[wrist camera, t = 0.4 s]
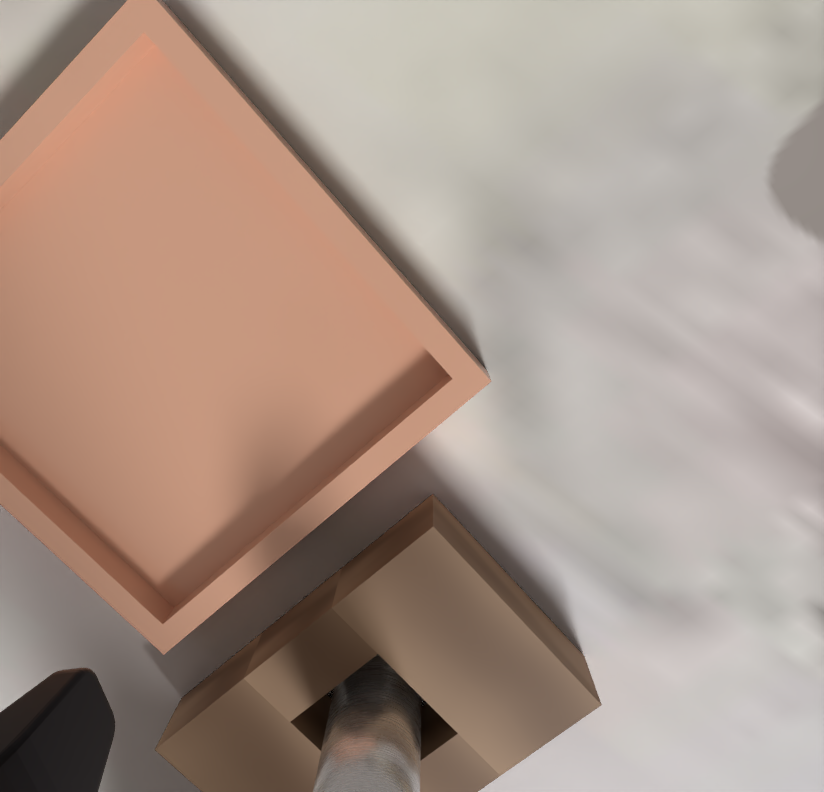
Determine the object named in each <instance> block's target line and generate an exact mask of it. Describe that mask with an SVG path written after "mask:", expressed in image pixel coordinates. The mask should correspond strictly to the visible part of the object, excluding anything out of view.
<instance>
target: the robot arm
mask: <svg viewBox="0 0 824 792" xmlns="http://www.w3.org/2000/svg"><path fill="white" fill-rule="evenodd" d="M114 732H115V720H114V715H113V712H112V710H111V707H110V705H109V703H108V701H107V698H106V696H105V694H104V692H103V689H102V687H101V685H100V683H99V681H98V678H97V676H96V675H95V673H94V672H93V671H92V670H90V669H88V668H77V669H68V670H61V671H57V672H55V673H53V674H52V675H50V676H49V677H48V678H46V679H45V680H44V681H42V682H41V683H40V684H38V685H37V686H35V687H34V688H33V689H31V690H30V691H29V692H27V693H26V694H25V695H23V696H22V697H21V698H19V699H18V700H16V701H15V702H14V703H12V704H11V705H10V706H8V707H7V708H6V709H4V710H3V711H2V712H0V792H98V789H99V786H100V782H101V779H102V775H103V772H104V768H105V765H106V762H107V758H108V755H109V751H110V748H111V744H112V741H113V737H114Z"/></svg>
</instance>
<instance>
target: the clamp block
mask: <svg viewBox="0 0 824 792" xmlns="http://www.w3.org/2000/svg"><path fill="white" fill-rule="evenodd" d="M377 654H378V655H379V656H381V657H382V658H383V659H384V660H385V661H386V662H387V663H388V664H389V665H390V666H391V667H392V668H393V669H394V670H395V671H396V672H397V673H398V674H399V675H400V676H401V677H402V678H403V679H404V680H405V681H406V682H407V683H408V684H409V685H410V686H411V687H412V688H413V689H414V690H415V691H416V692H417V693H418V694H419V695H420V696H421V697H422V698H423V699H424V700H425V701H426V702H427V703H428V704H426V705H425V706H423V707H422V708H421V758H420V792H478V791H479V790H481V789H482V788H484V787H485V786H486V785H488V784H489V783H491V782H492V781H494V780H495V779H496V778H498V777H499V776H501V775H502V774H504V773H505V772H506V771H508V770H509V769H511V768H512V767H514V766H515V765H516V764H518V763H519V762H521V761H522V760H524V759H525V758H526V757H528V756H529V755H531V754H532V753H534V752H535V751H536V750H538V749H539V748H541V747H542V746H544V745H545V744H546V743H548V742H549V741H551V740H552V739H554V738H555V737H556V736H558V735H559V734H561V733H562V732H564V731H565V730H566V729H568V728H569V727H571V726H572V725H574V724H575V723H576V722H578V721H579V720H581V719H582V718H584V717H585V716H586V715H588V714H589V713H591V712H592V711H594V710H595V709H596V708H598V707H599V706H601V702H600V699H599V697H598V694H597V691H596V688H595V685H594V682H593V680H592V677H591V674H590V671H589V668H588V665H587V663H586V660H585V657H584V655H583V654H582V653H581V652H580V651H579V650H578V649H577V648H576V647H575V646H574V645H573V644H572V643H571V642H570V640H569V639H568V638H567V637H566V636H565V635H564V634H563V633H562V632H561V631H560V630H559V629H558V628H557V627H556V625H555V624H554V623H553V622H552V621H551V620H550V619H549V618H548V617H547V616H546V615H545V614H544V613H543V612H542V610H541V609H540V608H539V607H538V606H537V605H536V604H535V603H534V602H533V601H532V600H531V599H530V598H529V596H528V595H527V594H526V593H525V592H524V591H523V590H522V589H521V588H520V587H519V586H518V585H517V584H516V583H515V581H514V580H513V579H512V578H511V577H510V576H509V575H508V574H507V573H506V572H505V571H504V570H503V569H502V568H501V566H500V565H499V564H498V563H497V562H496V561H495V560H494V559H493V558H492V557H491V556H490V555H489V554H488V553H487V551H486V550H485V549H484V548H483V547H482V546H481V545H480V544H479V543H478V542H477V541H476V540H475V539H474V537H473V536H472V535H471V534H470V533H469V532H468V531H467V530H466V529H465V528H464V527H463V526H462V525H461V524H460V522H459V521H458V520H457V519H456V518H455V517H454V516H453V515H452V514H451V513H450V512H449V511H448V510H447V509H446V507H445V506H444V505H443V504H442V503H441V502H440V501H439V500H438V499H437V498H436V497H435V496H434V495H433V494H432V495H431V496H430V497H428V498H427V499H426V500H425V501H424V502H422V503H421V504H420V505H419V506H417V507H416V508H415V509H414V510H412V511H411V512H410V513H409V514H408V515H406V516H405V517H404V518H403V519H401V520H400V521H399V522H398V523H397V524H395V525H394V526H393V527H392V528H390V529H389V530H388V531H387V532H385V533H384V534H383V535H382V536H381V537H379V538H378V539H377V540H376V541H374V542H373V543H372V544H371V545H369V546H368V547H367V548H366V549H365V550H363V551H362V552H361V553H360V554H358V555H357V556H356V557H355V558H353V559H352V560H351V561H350V562H349V563H347V564H346V565H345V566H344V567H342V568H341V569H340V570H339V571H337V572H336V573H335V574H334V575H333V576H331V577H330V578H329V579H328V580H326V581H325V582H324V583H323V584H321V585H320V586H319V587H318V588H317V589H315V590H314V591H313V592H312V593H310V594H309V595H308V596H307V597H306V598H304V599H303V600H302V601H301V602H299V603H298V604H297V605H296V606H294V607H293V608H292V609H291V610H290V611H288V612H287V613H286V614H285V615H283V616H282V617H281V618H280V619H278V620H277V621H276V622H275V623H274V624H272V625H271V626H270V627H269V628H267V629H266V630H265V631H264V632H262V633H261V634H260V635H259V636H258V637H256V638H255V639H254V640H253V641H251V642H250V643H249V644H248V645H246V646H245V647H244V648H243V649H242V650H240V651H239V652H238V653H237V654H235V655H234V656H233V657H232V658H230V659H229V660H228V661H227V662H226V663H224V664H223V665H222V666H221V667H219V668H218V669H217V670H216V671H215V672H213V673H212V674H211V675H210V676H208V677H207V678H206V679H205V680H203V681H202V682H201V683H200V684H199V685H197V686H196V687H195V688H194V689H192V690H191V691H190V692H189V693H187V694H186V695H185V696H184V697H183V698H181V700H180V702H179V704H178V706H177V708H176V710H175V712H174V714H173V716H172V717H171V719H170V721H169V723H168V725H167V727H166V729H165V731H164V733H163V735H162V737H161V739H160V741H159V743H158V744H157V746H156V748H155V751H157V752H158V753H159V754H160V755H161V756H162V757H163V758H164V759H166V760H167V761H168V762H169V763H170V764H171V765H172V766H174V767H175V768H176V769H177V770H178V771H179V772H180V773H181V774H183V775H184V776H185V777H186V778H187V779H188V780H189V781H190V782H192V783H193V784H194V785H195V786H196V787H197V788H198V789H199V790H201V791H202V792H313V789H314V784H315V779H316V774H317V769H318V764H319V759H320V755H321V750H322V745H323V740H324V735H325V730H326V725H327V720H328V715H329V710H330V705H331V701H332V699H331V698H330V697H329V696H328V695H327V693H328V692H329V691H331V690H332V689H333V688H335V687H336V686H337V685H339V684H340V683H341V682H342V681H344V680H345V679H346V678H348V677H349V676H350V675H351V674H353V673H354V672H355V671H357V670H358V669H359V668H361V667H362V666H363V665H364V664H366V663H367V662H368V661H370V660H371V659H372V658H373V657H375V656H376V655H377Z"/></svg>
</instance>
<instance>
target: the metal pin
mask: <svg viewBox="0 0 824 792" xmlns="http://www.w3.org/2000/svg"><path fill="white" fill-rule="evenodd" d="M420 758H421V696H420V695H419V694H418V693H417V692H416V691H415V690H414V689H413V688H412V687H411V686H410V685H409V684H408V683H407V682H406V681H405V680H404V679H403V678H402V677H401V676H400V675H399V674H398V673H397V672H396V671H395V670H394V669H393V668H392V667H391V666H390V665H389V664H388V663H387V662H386V661H385V660H384V659H383V658H382V657H381V656H379V655H378V654H377V655H376V656H375V657H373V658H372V659H371V660H370V661H368V662H367V663H366V664H364V665H363V666H362V667H361V668H359V669H358V670H357V671H355V672H354V673H353V674H351V675H350V676H349V677H348V678H346V679H345V680H344V681H342V682H341V683H340V684H339V685H337V686H336V687H335V688H334V691H333V696H332V701H331V705H330V710H329V715H328V720H327V725H326V730H325V735H324V740H323V745H322V750H321V755H320V759H319V764H318V769H317V774H316V779H315V784H314V789H313V792H420Z"/></svg>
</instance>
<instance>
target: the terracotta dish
mask: <svg viewBox="0 0 824 792" xmlns="http://www.w3.org/2000/svg"><path fill="white" fill-rule="evenodd" d="M490 382H491V379H490V377H489V374H488V371H487V370H486V369H485V368H484V366H483V365H482V364H481V363H480V362H479V361H478V360H477V358H476V357H475V356H474V355H473V354H472V353H471V352H470V350H469V349H468V348H467V347H466V346H465V345H464V344H463V342H462V341H461V340H460V339H459V338H458V337H457V336H456V334H455V333H454V332H453V331H452V330H451V329H450V328H449V326H448V325H447V324H446V323H445V322H444V321H443V320H442V318H441V317H440V316H439V315H438V314H437V313H436V312H435V310H434V309H433V308H432V307H431V306H430V305H429V304H428V303H427V301H426V300H425V299H424V298H423V297H422V296H421V295H420V293H419V292H418V291H417V290H416V289H415V288H414V287H413V285H412V284H411V283H410V282H409V281H408V280H407V279H406V277H405V276H404V275H403V274H402V273H401V272H400V271H399V269H398V268H397V267H396V266H395V265H394V264H393V263H392V261H391V260H390V259H389V258H388V257H387V256H386V255H385V253H384V252H383V251H382V250H381V249H380V248H379V247H378V245H377V244H376V243H375V242H374V241H373V240H372V239H371V237H370V236H369V235H368V234H367V233H366V232H365V231H364V229H363V228H362V227H361V226H360V225H359V224H358V223H357V221H356V220H355V219H354V218H353V217H352V216H351V215H350V214H349V212H348V211H347V210H346V209H345V208H344V207H343V206H342V204H341V203H340V202H339V201H338V200H337V199H336V198H335V196H334V195H333V194H332V193H331V192H330V191H329V190H328V188H327V187H326V186H325V185H324V184H323V183H322V182H321V180H320V179H319V178H318V177H317V176H316V175H315V174H314V172H313V171H312V170H311V169H310V168H309V167H308V166H307V164H306V163H305V162H304V161H303V160H302V159H301V158H300V156H299V155H298V154H297V153H296V152H295V151H294V150H293V148H292V147H291V146H290V145H289V144H288V143H287V142H286V140H285V139H284V138H283V137H282V136H281V135H280V134H279V133H278V131H277V130H276V129H275V128H274V127H273V126H272V125H271V123H270V122H269V121H268V120H267V119H266V118H265V117H264V115H263V114H262V113H261V112H260V111H259V110H258V109H257V107H256V106H255V105H254V104H253V103H252V102H251V101H250V99H249V98H248V97H247V96H246V95H245V94H244V93H243V91H242V90H241V89H240V88H239V87H238V86H237V85H236V83H235V82H234V81H233V80H232V79H231V78H230V77H229V75H228V74H227V73H226V72H225V71H224V70H223V69H222V67H221V66H220V65H219V64H218V63H217V62H216V61H215V59H214V58H213V57H212V56H211V55H210V54H209V53H208V51H207V50H206V49H205V48H204V47H203V46H202V45H201V44H200V42H199V41H198V40H197V39H196V38H195V37H194V36H193V34H192V33H191V32H190V31H189V30H188V29H187V28H186V26H185V25H184V24H183V23H182V22H181V21H180V20H179V18H178V17H177V16H176V15H175V14H174V13H173V12H172V10H171V9H170V8H169V7H168V6H167V5H166V4H165V2H164V1H162V0H127V1H126V2H125V4H124V5H123V6H122V7H121V8H120V9H119V10H118V11H117V12H116V13H115V15H114V16H113V17H112V18H111V19H110V20H109V21H108V22H107V23H106V24H105V26H104V27H103V28H102V29H101V30H100V31H99V32H98V33H97V34H96V35H95V37H94V38H93V39H92V40H91V41H90V42H89V43H88V44H87V45H86V46H85V48H84V49H83V50H82V51H81V52H80V53H79V54H78V55H77V56H76V57H75V59H74V60H73V61H72V62H71V63H70V64H69V65H68V66H67V67H66V68H65V70H64V71H63V72H62V73H61V74H60V75H59V76H58V77H57V78H56V79H55V81H54V82H53V83H52V84H51V85H50V86H49V87H48V88H47V89H46V90H45V92H44V93H43V94H42V95H41V96H40V97H39V98H38V99H37V100H36V101H35V103H34V104H33V105H32V106H31V107H30V108H29V109H28V110H27V111H26V112H25V114H24V115H23V116H22V117H21V118H20V119H19V120H18V121H17V122H16V123H15V125H14V126H13V127H12V128H11V129H10V130H9V131H8V132H7V133H6V134H5V135H4V137H3V138H2V139H1V140H0V504H1V505H2V506H3V507H4V508H5V509H6V510H7V511H8V512H9V513H10V514H11V515H13V516H14V517H15V518H16V519H17V520H18V521H19V522H20V523H21V524H22V525H23V526H24V527H26V528H27V529H28V530H29V531H30V532H31V533H32V534H33V535H34V536H35V537H36V538H38V539H39V540H40V541H41V542H42V543H43V544H44V545H45V546H46V547H47V548H48V549H49V550H51V551H52V552H53V553H54V554H55V555H56V556H57V557H58V558H59V559H60V560H61V561H62V562H64V563H65V564H66V565H67V566H68V567H69V568H70V569H71V570H72V571H73V572H74V573H75V574H77V575H78V576H79V577H80V578H81V579H82V580H83V581H84V582H85V583H86V584H87V585H88V586H90V587H91V588H92V589H93V590H94V591H95V592H96V593H97V594H98V595H99V596H100V597H101V598H103V599H104V600H105V601H106V602H107V603H108V604H109V605H110V606H111V607H112V608H113V609H114V610H116V611H117V612H118V613H119V614H120V615H121V616H122V617H123V618H124V619H125V620H126V621H128V622H129V623H130V624H131V625H132V626H133V627H134V628H135V629H136V630H137V631H138V632H139V633H141V634H142V635H143V636H144V637H145V638H146V639H147V640H148V641H149V642H150V643H151V644H152V645H154V646H155V647H156V648H157V649H158V650H159V651H160V652H161V653H162V654H163V655H164V654H165V653H167V652H168V651H169V650H170V649H171V648H173V647H174V646H175V645H176V644H177V643H179V642H180V641H181V640H182V639H183V638H185V637H186V636H187V635H188V634H189V633H191V632H192V631H193V630H194V629H195V628H197V627H198V626H199V625H200V624H201V623H203V622H204V621H205V620H206V619H207V618H208V617H210V616H211V615H212V614H213V613H214V612H216V611H217V610H218V609H219V608H220V607H222V606H223V605H224V604H225V603H226V602H228V601H229V600H230V599H231V598H232V597H234V596H235V595H236V594H237V593H238V592H240V591H241V590H242V589H243V588H244V587H246V586H247V585H248V584H249V583H250V582H252V581H253V580H254V579H255V578H256V577H258V576H259V575H260V574H261V573H262V572H264V571H265V570H266V569H267V568H268V567H270V566H271V565H272V564H273V563H274V562H276V561H277V560H278V559H279V558H280V557H282V556H283V555H284V554H285V553H286V552H288V551H289V550H290V549H291V548H292V547H294V546H295V545H296V544H297V543H298V542H299V541H301V540H302V539H303V538H304V537H305V536H307V535H308V534H309V533H310V532H311V531H313V530H314V529H315V528H316V527H317V526H319V525H320V524H321V523H322V522H323V521H325V520H326V519H327V518H328V517H329V516H331V515H332V514H333V513H334V512H335V511H337V510H338V509H339V508H340V507H341V506H343V505H344V504H345V503H346V502H347V501H349V500H350V499H351V498H352V497H353V496H355V495H356V494H357V493H358V492H359V491H361V490H362V489H363V488H364V487H365V486H367V485H368V484H369V483H370V482H371V481H373V480H374V479H375V478H376V477H377V476H379V475H380V474H381V473H382V472H383V471H384V470H386V469H387V468H388V467H389V466H390V465H392V464H393V463H394V462H395V461H396V460H398V459H399V458H400V457H401V456H402V455H404V454H405V453H406V452H407V451H408V450H410V449H411V448H412V447H413V446H414V445H416V444H417V443H418V442H419V441H420V440H422V439H423V438H424V437H425V436H426V435H428V434H429V433H430V432H431V431H432V430H434V429H435V428H436V427H437V426H438V425H440V424H441V423H442V422H443V421H444V420H446V419H447V418H448V417H449V416H450V415H452V414H453V413H454V412H455V411H456V410H458V409H459V408H460V407H461V406H462V405H464V404H465V403H466V402H467V401H468V400H470V399H471V398H472V397H473V396H474V395H475V394H477V393H478V392H479V391H480V390H481V389H483V388H484V387H485V386H486V385H487V384H489V383H490Z"/></svg>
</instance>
